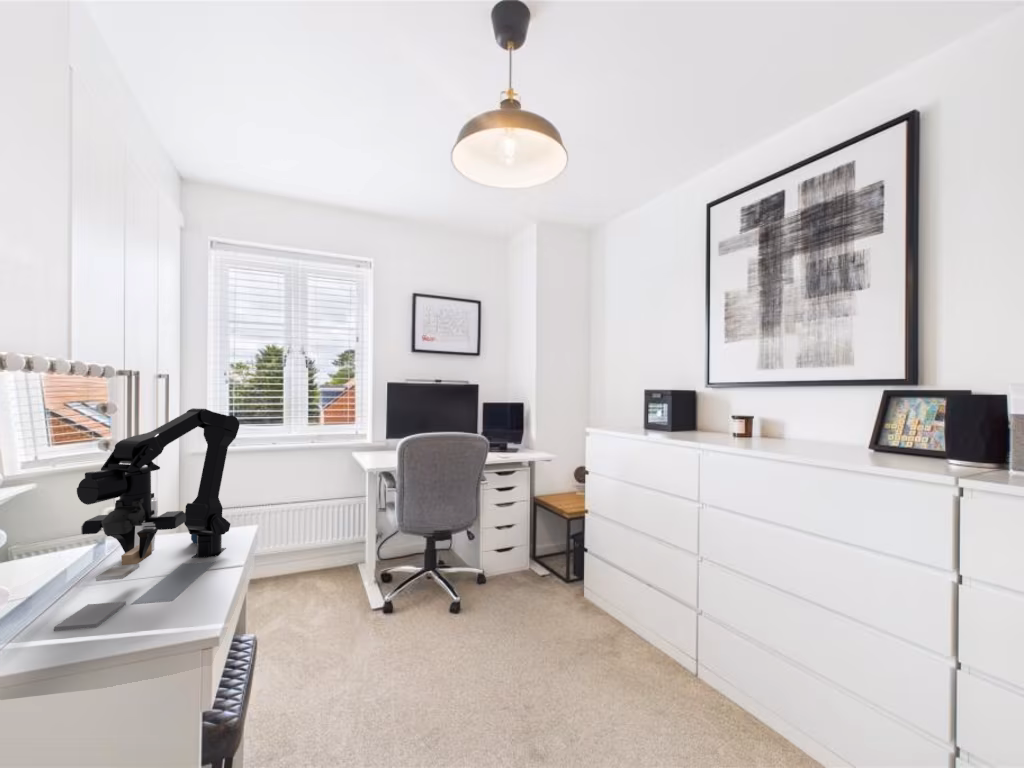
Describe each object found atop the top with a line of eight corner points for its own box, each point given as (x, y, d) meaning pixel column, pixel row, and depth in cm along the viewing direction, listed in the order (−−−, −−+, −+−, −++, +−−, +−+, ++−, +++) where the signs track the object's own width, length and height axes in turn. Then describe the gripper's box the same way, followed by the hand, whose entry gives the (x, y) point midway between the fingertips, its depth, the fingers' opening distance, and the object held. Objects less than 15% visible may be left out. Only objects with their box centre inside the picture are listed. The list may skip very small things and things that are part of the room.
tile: (88, 604, 95) (54, 626, 87) (125, 601, 97) (96, 623, 88) (88, 612, 95) (53, 635, 87) (125, 609, 97) (95, 632, 88)
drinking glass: (144, 557, 124) (144, 503, 123) (120, 557, 124) (120, 503, 124) (163, 548, 130) (163, 497, 130) (140, 548, 130) (140, 496, 130)
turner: (135, 555, 110) (135, 543, 110) (158, 553, 111) (158, 541, 111) (95, 581, 96) (95, 567, 96) (122, 578, 97) (122, 565, 97)
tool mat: (182, 565, 118) (182, 563, 118) (216, 563, 120) (216, 561, 120) (130, 607, 97) (130, 604, 97) (172, 603, 99) (172, 600, 99)
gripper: (62, 504, 96) (63, 576, 96) (162, 499, 100) (162, 569, 100) (98, 491, 107) (98, 556, 107) (186, 487, 111) (187, 550, 111)
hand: (136, 558), depth 106 cm, fingers closed on turner, 2 cm apart
